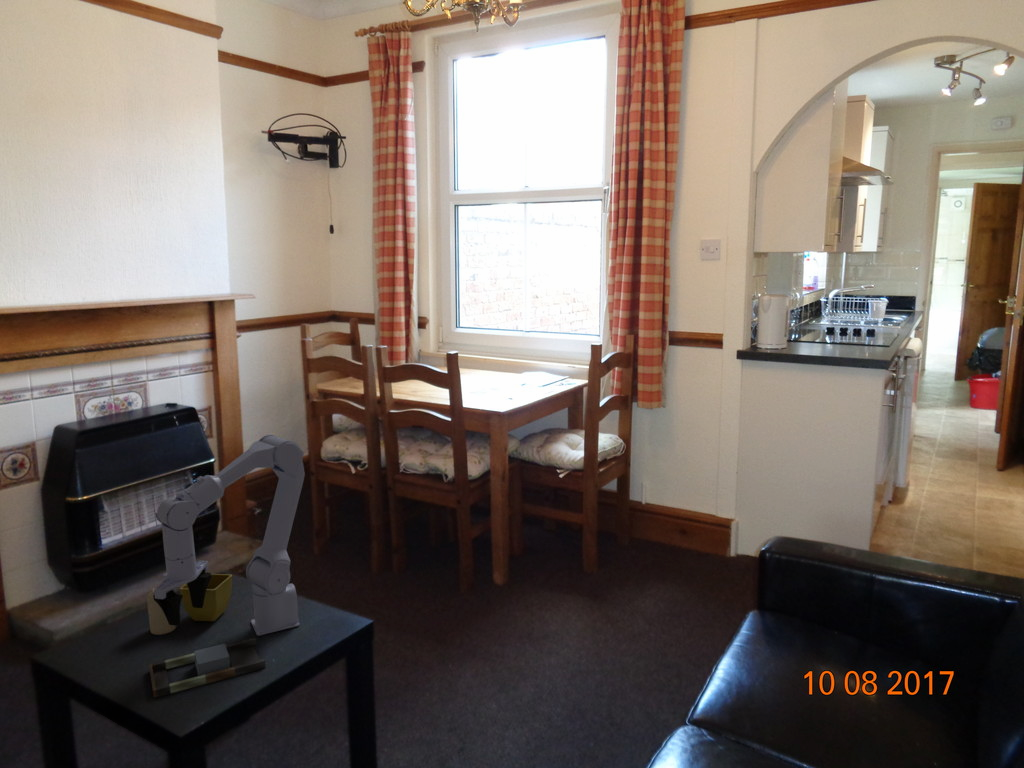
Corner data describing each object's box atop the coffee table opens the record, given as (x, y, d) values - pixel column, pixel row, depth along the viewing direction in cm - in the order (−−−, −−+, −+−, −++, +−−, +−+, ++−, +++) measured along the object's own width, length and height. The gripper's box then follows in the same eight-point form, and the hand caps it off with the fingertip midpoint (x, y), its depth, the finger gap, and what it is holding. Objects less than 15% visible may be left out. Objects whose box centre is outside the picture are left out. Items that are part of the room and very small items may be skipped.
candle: (166, 636, 167) (162, 594, 165) (145, 633, 168) (140, 592, 166) (181, 624, 172) (178, 584, 171) (161, 622, 173) (157, 582, 172)
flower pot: (201, 607, 181) (198, 572, 179) (235, 608, 180) (232, 573, 178) (182, 625, 172) (178, 588, 170) (217, 626, 171) (214, 590, 170)
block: (225, 658, 158) (224, 643, 157) (230, 672, 152) (229, 656, 152) (195, 666, 155) (194, 651, 154) (199, 680, 150) (197, 664, 149)
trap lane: (255, 644, 163) (254, 637, 163) (265, 667, 153) (264, 661, 153) (149, 671, 153) (149, 664, 153) (153, 697, 143) (153, 690, 143)
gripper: (186, 540, 162) (192, 598, 164) (138, 567, 148) (145, 630, 150) (214, 542, 160) (220, 601, 162) (168, 570, 146) (175, 634, 148)
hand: (186, 615), depth 156 cm, fingers open, 7 cm apart
